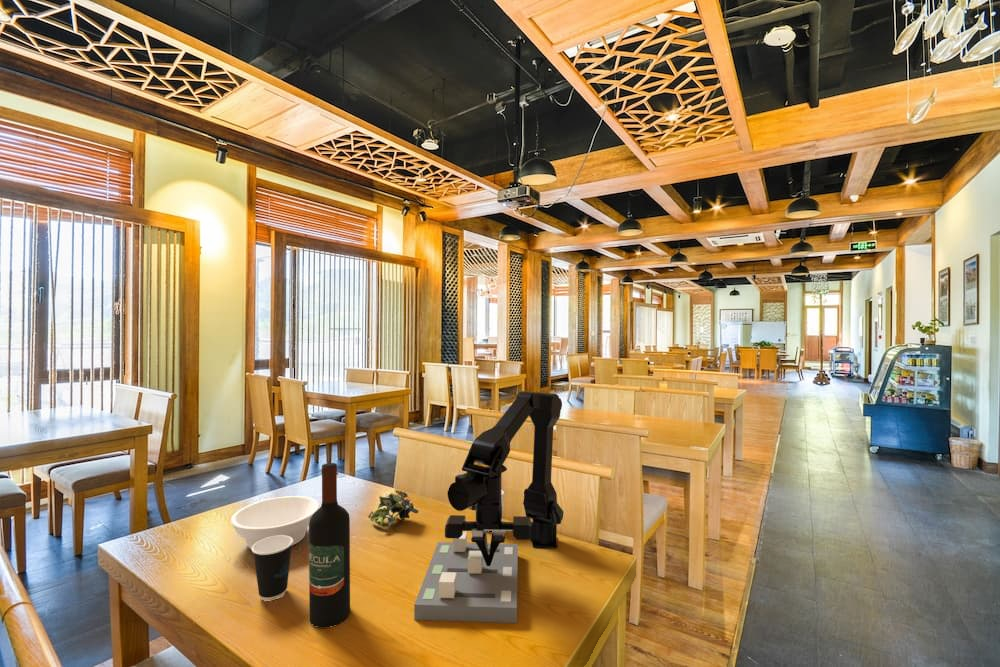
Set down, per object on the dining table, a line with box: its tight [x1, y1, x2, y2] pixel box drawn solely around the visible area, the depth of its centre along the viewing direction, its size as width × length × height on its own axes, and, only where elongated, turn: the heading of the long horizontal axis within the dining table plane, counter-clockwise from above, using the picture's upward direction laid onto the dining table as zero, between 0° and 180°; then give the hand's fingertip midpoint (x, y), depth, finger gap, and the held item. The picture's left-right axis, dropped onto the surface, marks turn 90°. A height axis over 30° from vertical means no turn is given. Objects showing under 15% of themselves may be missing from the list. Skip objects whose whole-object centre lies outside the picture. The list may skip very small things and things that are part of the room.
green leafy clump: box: [368, 490, 419, 530], centre depth 128 cm, size 11×11×12 cm
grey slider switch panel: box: [413, 541, 519, 624], centre depth 99 cm, size 20×25×3 cm
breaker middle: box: [468, 551, 483, 574], centre depth 99 cm, size 3×4×3 cm
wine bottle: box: [308, 462, 351, 628], centre depth 88 cm, size 8×8×30 cm
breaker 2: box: [452, 531, 468, 552], centre depth 108 cm, size 3×4×3 cm
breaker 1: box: [439, 572, 456, 598], centre depth 90 cm, size 3×4×3 cm
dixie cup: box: [251, 535, 293, 601], centre depth 95 cm, size 8×8×11 cm
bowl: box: [230, 495, 321, 550], centre depth 119 cm, size 21×21×8 cm
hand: (488, 565), depth 99 cm, fingers closed
